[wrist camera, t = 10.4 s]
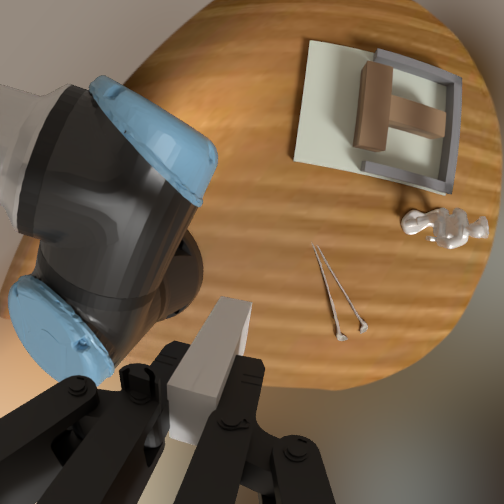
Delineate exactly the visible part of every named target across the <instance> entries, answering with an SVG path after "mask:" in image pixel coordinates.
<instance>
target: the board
mask: <svg viewBox="0 0 504 504" xmlns="http://www.w3.org/2000/svg"><path fill="white" fill-rule="evenodd" d="M367 60H369V61H373V62H377V63H380V64H384V65H388V66H391V67H393V81H392V95H395V96H398V97H401V98H405V99H408V100H411V101H414V102H417V103H421V104H424V105H427V106H429V107H432V108H435V109H438V110H441V111H443V112H446V124H445V136H444V137H442V138H436V139H428V138H424V137H421V136H418V135H415V134H411V133H408V132H405V131H401V130H398V129H394V128H390V127H388V134H387V142H386V150H385V151H381V152H372V151H368V150H363V149H359V148H354V147H352V146H353V139H354V132H355V124H356V116H357V107H358V98H359V88H360V77H361V70H362V68H363V67H364V65H365V64H366V62H367ZM461 106H462V78H461V77H459V76H457V75H454V74H452V73H450V72H447V71H445V70H442V69H440V68H437V67H435V66H432V65H429V64H427V63H424V62H421V61H418V60H415V59H412V58H409V57H406V56H403V55H400V54H396V53H393V52H390V51H386V50H383V49H379V48H378V49H377V50H376V52H375V53H372V52H368V51H364V50H360V49H355V48H351V47H346V46H341V45H336V44H330V43H325V42H319V41H312V40H310V44H309V52H308V60H307V68H306V76H305V83H304V91H303V98H302V106H301V113H300V120H299V127H298V134H297V141H296V148H295V154H294V161H296V162H302V163H308V164H314V165H319V166H324V167H330V168H335V169H340V170H345V171H349V172H354V173H359V174H363V175H368V176H372V177H376V178H381V179H385V180H389V181H393V182H397V183H401V184H405V185H408V186H412V187H416V188H420V189H423V190H427V191H430V192H434V193H437V194H441V195H444V196H445V195H446V193H447V194H452V190H453V184H454V178H455V171H456V164H457V156H458V147H459V137H460V124H461Z"/></svg>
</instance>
